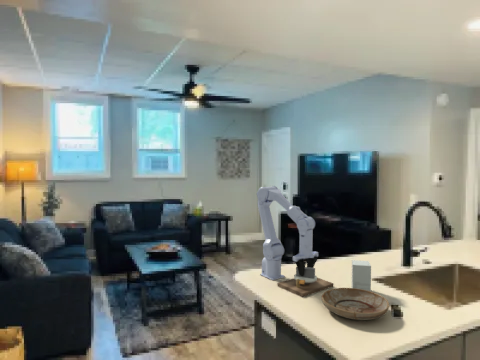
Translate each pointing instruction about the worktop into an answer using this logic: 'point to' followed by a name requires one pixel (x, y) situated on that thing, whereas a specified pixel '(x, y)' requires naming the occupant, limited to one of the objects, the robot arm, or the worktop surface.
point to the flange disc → (306, 275)
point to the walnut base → (304, 286)
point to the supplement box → (361, 275)
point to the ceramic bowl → (355, 303)
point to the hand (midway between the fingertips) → (305, 274)
